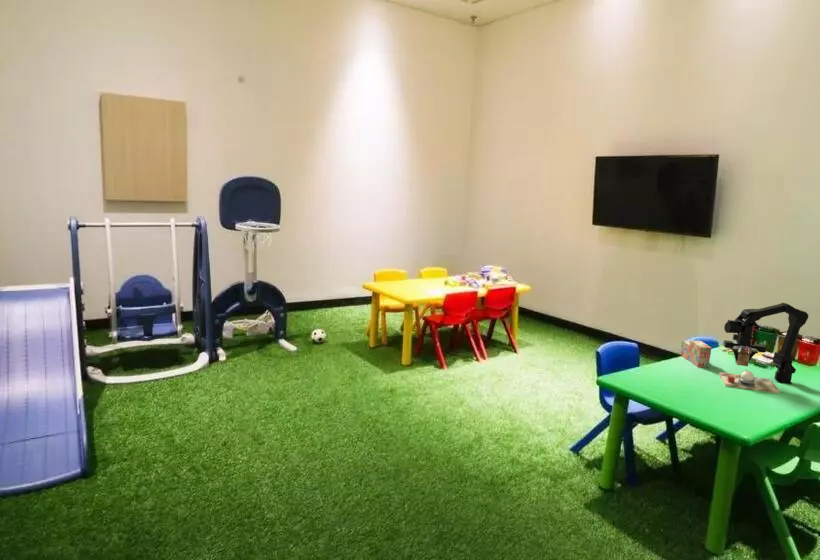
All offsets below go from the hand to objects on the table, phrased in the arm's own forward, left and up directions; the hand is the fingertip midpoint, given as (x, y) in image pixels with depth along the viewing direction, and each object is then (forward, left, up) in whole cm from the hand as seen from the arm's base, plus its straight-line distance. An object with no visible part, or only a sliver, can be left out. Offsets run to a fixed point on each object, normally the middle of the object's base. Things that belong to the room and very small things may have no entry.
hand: (741, 361), depth 287 cm
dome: (-1, +11, -7) cm, 13 cm away
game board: (-3, +6, -10) cm, 12 cm away
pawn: (0, 0, -1) cm, 1 cm away
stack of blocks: (+19, -23, -10) cm, 31 cm away
